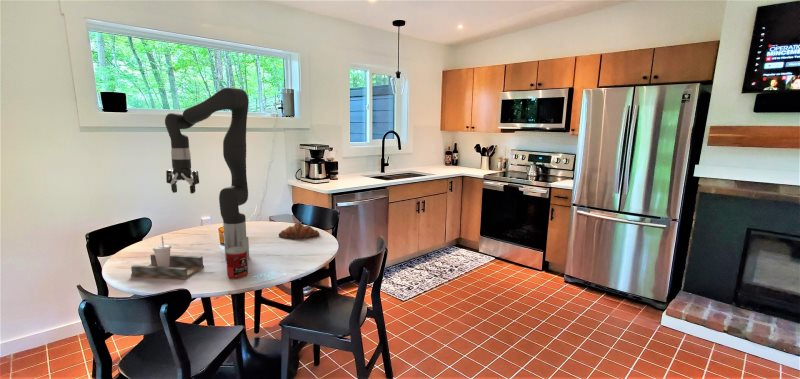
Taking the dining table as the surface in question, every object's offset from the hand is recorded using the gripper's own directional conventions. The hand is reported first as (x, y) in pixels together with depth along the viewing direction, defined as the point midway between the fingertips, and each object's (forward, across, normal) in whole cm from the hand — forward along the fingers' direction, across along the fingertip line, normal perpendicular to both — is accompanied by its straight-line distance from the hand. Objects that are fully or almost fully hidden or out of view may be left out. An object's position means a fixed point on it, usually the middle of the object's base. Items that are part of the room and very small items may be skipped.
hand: (183, 192), depth 173 cm
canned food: (+28, +37, -24) cm, 52 cm away
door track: (+28, +8, -24) cm, 38 cm away
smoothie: (+27, +6, -24) cm, 37 cm away
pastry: (+29, +44, +31) cm, 61 cm away
